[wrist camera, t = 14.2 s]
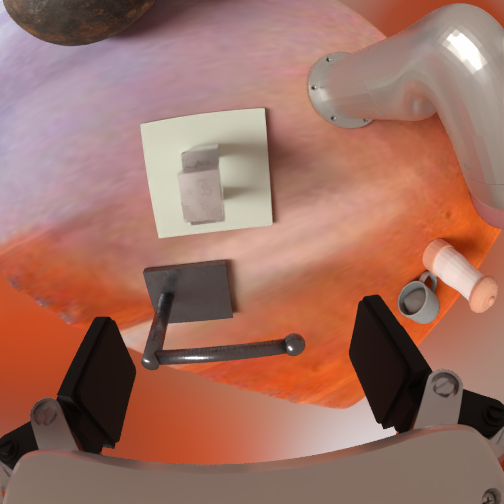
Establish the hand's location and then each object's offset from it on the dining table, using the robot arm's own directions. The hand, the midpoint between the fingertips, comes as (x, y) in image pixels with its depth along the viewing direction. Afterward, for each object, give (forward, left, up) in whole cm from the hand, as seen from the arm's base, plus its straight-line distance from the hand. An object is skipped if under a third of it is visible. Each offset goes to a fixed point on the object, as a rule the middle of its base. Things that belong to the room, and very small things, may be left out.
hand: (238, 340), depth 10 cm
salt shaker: (-41, +18, -35) cm, 57 cm away
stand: (+4, +19, -35) cm, 40 cm away
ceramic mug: (-37, +26, -35) cm, 58 cm away
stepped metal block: (+3, -1, -34) cm, 34 cm away
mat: (+3, -1, -35) cm, 35 cm away
